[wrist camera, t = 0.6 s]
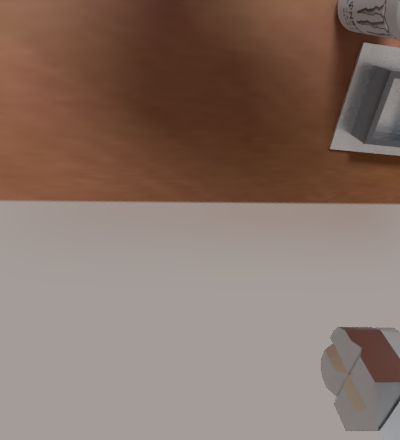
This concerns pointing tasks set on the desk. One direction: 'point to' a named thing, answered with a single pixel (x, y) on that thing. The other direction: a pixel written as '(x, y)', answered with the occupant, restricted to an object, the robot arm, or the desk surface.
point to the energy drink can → (371, 17)
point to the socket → (371, 104)
